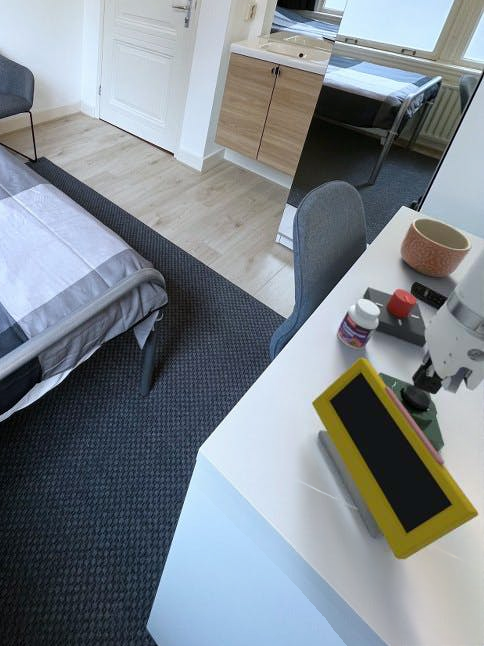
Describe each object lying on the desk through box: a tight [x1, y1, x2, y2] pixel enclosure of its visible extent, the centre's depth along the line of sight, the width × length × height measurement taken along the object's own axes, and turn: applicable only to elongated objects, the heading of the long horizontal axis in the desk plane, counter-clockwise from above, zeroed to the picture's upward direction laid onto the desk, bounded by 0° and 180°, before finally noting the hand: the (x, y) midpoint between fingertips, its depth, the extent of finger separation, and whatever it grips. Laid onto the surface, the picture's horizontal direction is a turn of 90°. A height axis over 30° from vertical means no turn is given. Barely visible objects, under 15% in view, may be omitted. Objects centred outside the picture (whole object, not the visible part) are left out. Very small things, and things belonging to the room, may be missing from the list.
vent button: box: [402, 384, 430, 412], centre depth 73 cm, size 4×4×2 cm
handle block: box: [362, 286, 427, 348], centre depth 93 cm, size 10×10×3 cm
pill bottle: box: [336, 298, 380, 350], centre depth 86 cm, size 5×5×10 cm
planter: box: [399, 217, 473, 278], centre depth 108 cm, size 12×12×11 cm
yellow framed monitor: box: [311, 357, 479, 560], centre depth 62 cm, size 20×8×16 cm, turn 5°
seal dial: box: [387, 288, 418, 318], centre depth 91 cm, size 4×4×5 cm
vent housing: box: [377, 371, 445, 453], centre depth 74 cm, size 10×8×4 cm
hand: (423, 386), depth 72 cm, fingers closed
